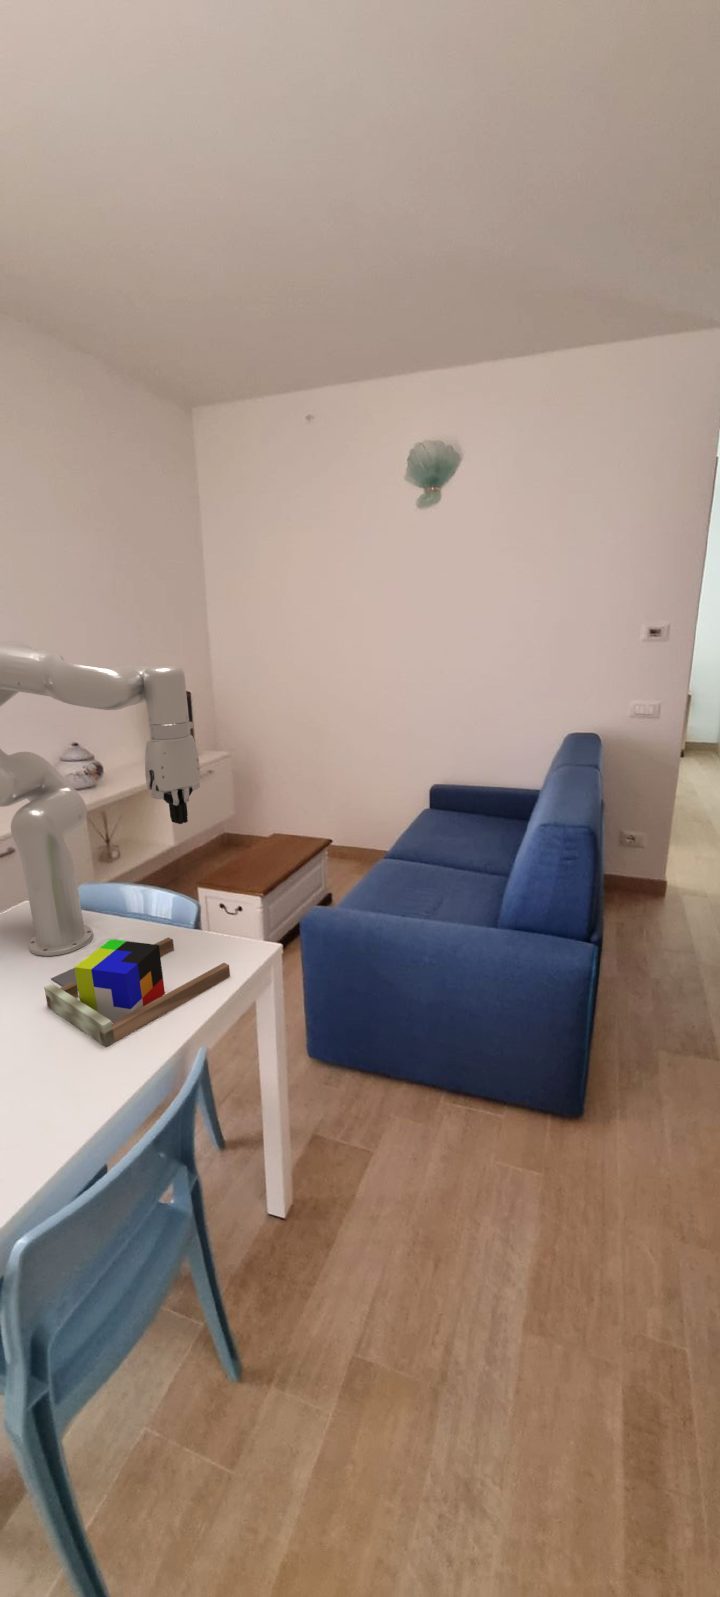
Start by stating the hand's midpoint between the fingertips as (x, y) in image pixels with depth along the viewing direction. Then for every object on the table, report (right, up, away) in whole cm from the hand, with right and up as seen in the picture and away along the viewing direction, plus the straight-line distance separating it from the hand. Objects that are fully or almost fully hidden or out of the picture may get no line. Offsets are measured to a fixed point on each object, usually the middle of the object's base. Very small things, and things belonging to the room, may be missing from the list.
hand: (179, 821), depth 129 cm
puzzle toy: (-6, -33, -14) cm, 36 cm away
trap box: (-4, -31, -10) cm, 33 cm away
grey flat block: (-18, -30, -5) cm, 36 cm away
